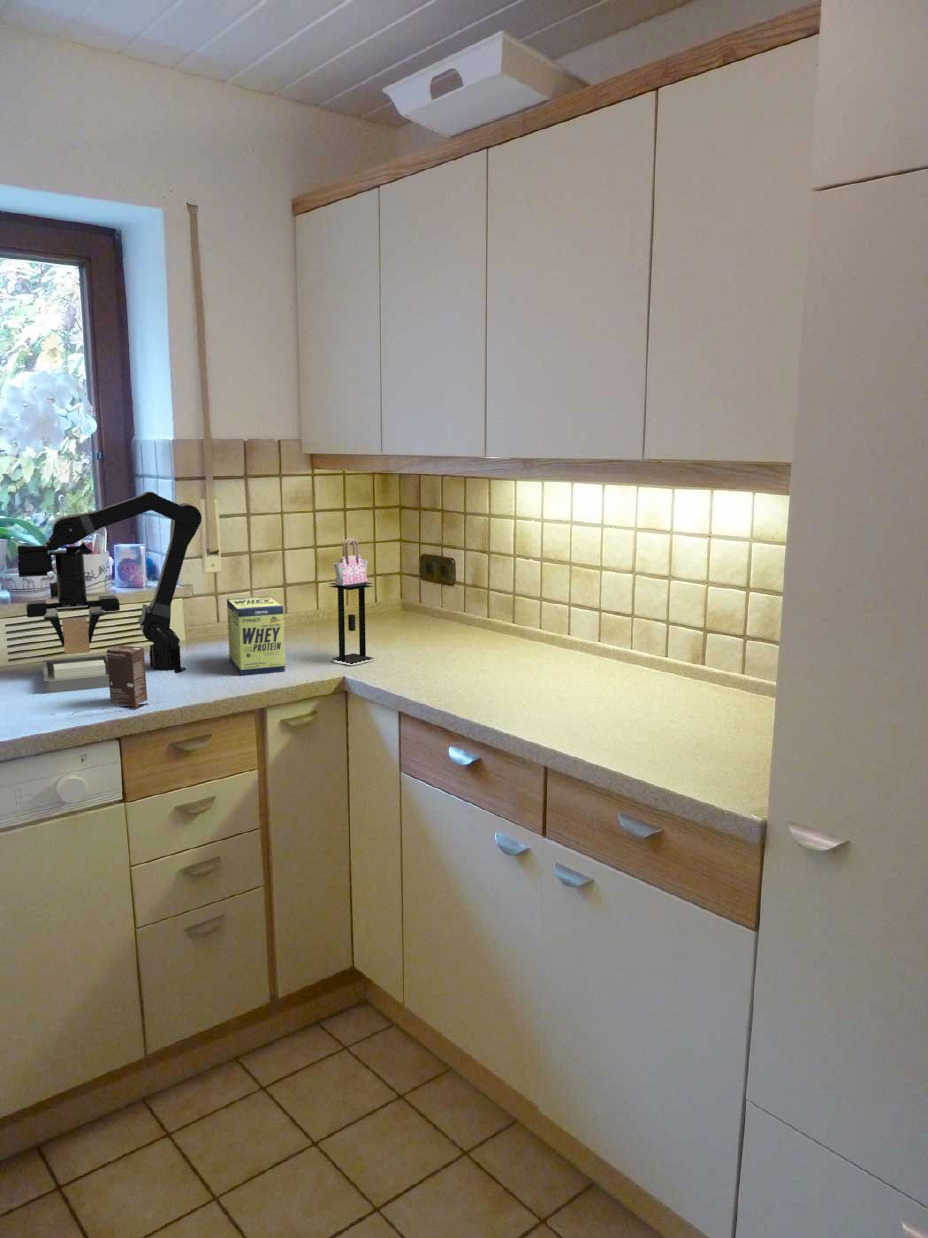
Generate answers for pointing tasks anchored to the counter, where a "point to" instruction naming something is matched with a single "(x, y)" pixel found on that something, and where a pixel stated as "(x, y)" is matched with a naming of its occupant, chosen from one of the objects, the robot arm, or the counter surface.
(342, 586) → the handbag
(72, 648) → the tea tin
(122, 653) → the box
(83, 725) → the counter surface
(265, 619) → the protein box
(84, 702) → the counter surface
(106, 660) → the tote
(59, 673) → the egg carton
